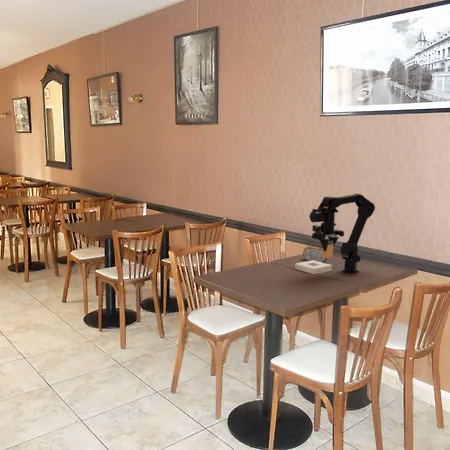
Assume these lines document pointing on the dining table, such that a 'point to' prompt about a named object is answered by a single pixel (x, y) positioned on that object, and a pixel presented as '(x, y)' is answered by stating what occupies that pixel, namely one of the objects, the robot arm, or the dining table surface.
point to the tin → (313, 254)
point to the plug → (328, 250)
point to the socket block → (313, 267)
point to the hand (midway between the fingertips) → (327, 250)
